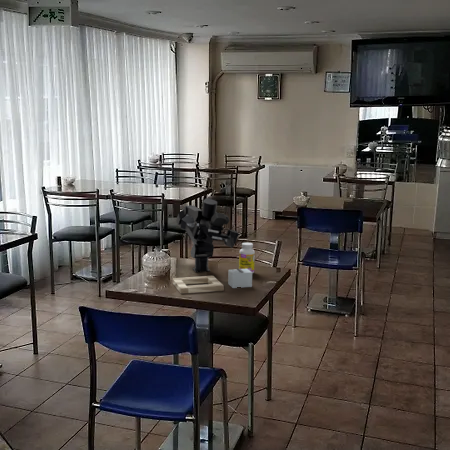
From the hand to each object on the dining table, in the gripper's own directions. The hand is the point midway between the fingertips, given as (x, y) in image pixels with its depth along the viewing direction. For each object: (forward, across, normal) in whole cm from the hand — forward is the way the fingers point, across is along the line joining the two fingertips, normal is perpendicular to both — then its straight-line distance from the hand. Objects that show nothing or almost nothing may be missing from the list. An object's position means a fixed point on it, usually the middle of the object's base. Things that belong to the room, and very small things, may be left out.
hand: (222, 244), depth 238 cm
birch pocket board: (+3, -5, +19) cm, 20 cm away
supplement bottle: (-11, +22, +16) cm, 30 cm away
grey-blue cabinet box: (+6, +11, +14) cm, 19 cm away
